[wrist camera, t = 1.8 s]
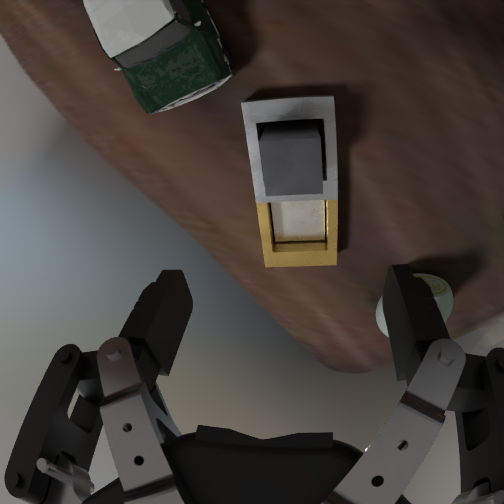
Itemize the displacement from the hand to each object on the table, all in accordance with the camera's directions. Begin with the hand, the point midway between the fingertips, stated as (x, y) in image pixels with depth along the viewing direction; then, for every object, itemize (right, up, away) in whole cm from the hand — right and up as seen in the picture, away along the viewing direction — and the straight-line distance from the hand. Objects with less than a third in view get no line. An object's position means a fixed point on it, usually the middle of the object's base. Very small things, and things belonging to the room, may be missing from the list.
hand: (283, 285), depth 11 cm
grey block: (+3, +11, +16) cm, 20 cm away
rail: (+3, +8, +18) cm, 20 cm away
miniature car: (-9, +23, +10) cm, 27 cm away
